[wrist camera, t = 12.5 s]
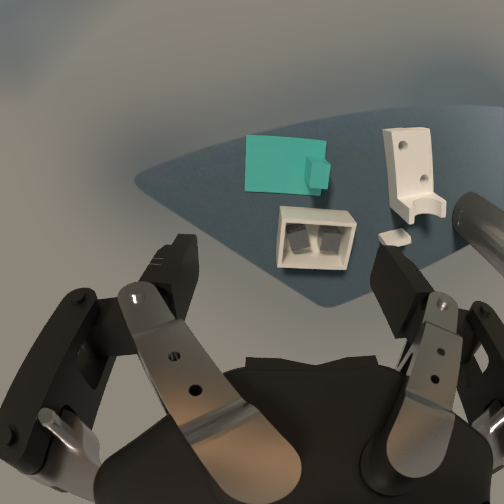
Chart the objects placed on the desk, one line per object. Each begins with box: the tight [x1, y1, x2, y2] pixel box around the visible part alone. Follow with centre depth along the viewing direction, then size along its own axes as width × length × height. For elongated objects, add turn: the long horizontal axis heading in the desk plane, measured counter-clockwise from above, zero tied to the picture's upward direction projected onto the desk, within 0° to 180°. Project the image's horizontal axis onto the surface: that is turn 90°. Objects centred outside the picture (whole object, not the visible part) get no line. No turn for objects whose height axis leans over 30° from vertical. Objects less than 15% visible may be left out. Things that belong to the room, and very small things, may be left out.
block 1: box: [286, 223, 311, 251], centre depth 42 cm, size 3×3×3 cm
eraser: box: [378, 228, 411, 247], centre depth 42 cm, size 1×5×4 cm, turn 107°
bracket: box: [382, 127, 446, 224], centre depth 34 cm, size 13×7×8 cm, turn 14°
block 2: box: [317, 225, 342, 251], centre depth 42 cm, size 3×3×3 cm
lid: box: [245, 135, 331, 196], centre depth 37 cm, size 12×9×6 cm
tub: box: [276, 206, 357, 270], centre depth 42 cm, size 11×8×5 cm
